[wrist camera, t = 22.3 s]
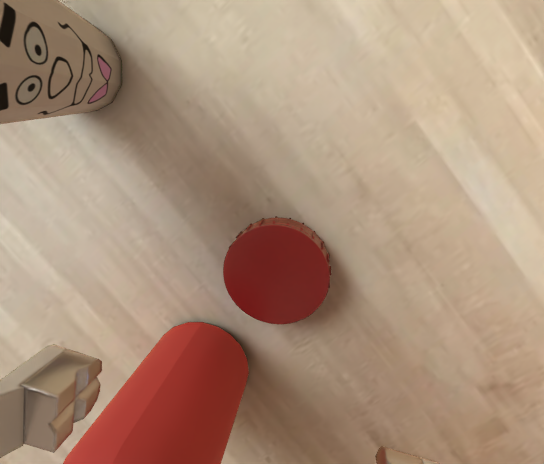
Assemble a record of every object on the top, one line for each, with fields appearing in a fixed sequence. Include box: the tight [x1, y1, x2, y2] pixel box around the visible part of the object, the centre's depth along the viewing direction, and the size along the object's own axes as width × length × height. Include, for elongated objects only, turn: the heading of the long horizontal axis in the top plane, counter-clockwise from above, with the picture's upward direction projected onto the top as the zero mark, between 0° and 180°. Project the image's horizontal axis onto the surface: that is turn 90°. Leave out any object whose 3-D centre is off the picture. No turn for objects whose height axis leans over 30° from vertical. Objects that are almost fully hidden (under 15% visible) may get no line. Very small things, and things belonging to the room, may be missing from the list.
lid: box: [223, 216, 331, 324], centre depth 20 cm, size 6×6×2 cm
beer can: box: [63, 322, 249, 464], centre depth 18 cm, size 7×7×12 cm
